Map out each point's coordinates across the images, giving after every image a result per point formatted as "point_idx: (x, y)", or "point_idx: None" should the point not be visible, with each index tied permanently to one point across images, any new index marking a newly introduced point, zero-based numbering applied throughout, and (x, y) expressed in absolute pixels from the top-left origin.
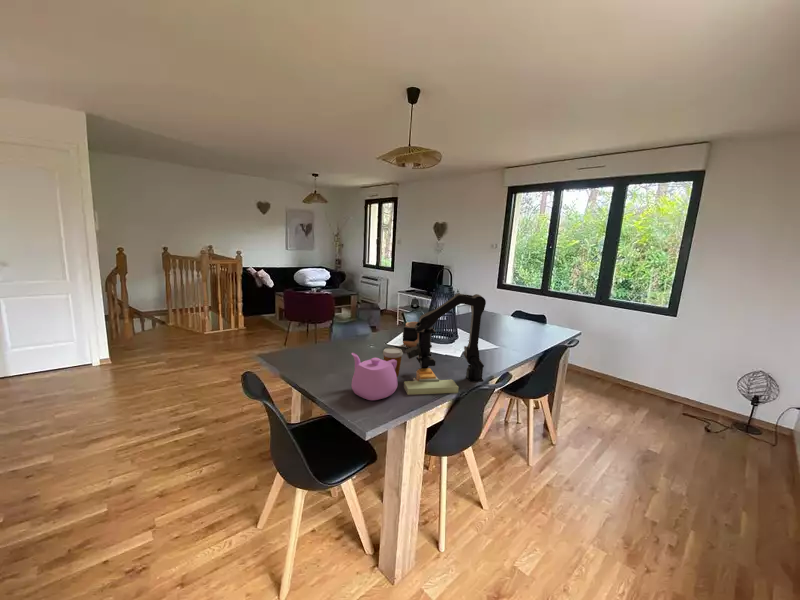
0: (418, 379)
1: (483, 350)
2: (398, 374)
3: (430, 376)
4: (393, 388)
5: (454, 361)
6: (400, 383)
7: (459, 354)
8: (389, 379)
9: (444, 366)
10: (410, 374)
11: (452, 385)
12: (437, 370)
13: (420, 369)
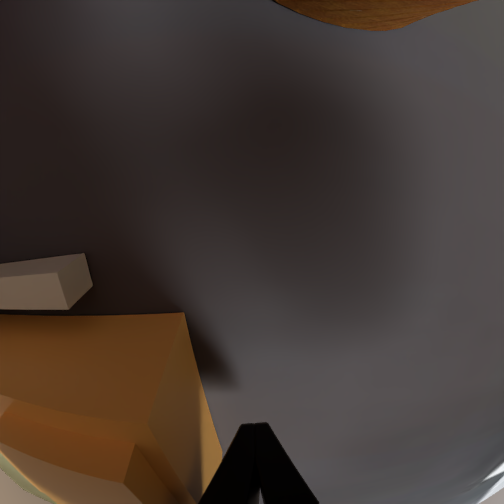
0: (40, 336)
1: (478, 499)
2: (310, 7)
3: (10, 461)
4: None
5: (462, 484)
6: (14, 72)
7: (500, 470)
8: None
9: (435, 478)
10: (368, 239)
11: (22, 483)
12: (395, 471)
13: (88, 486)
